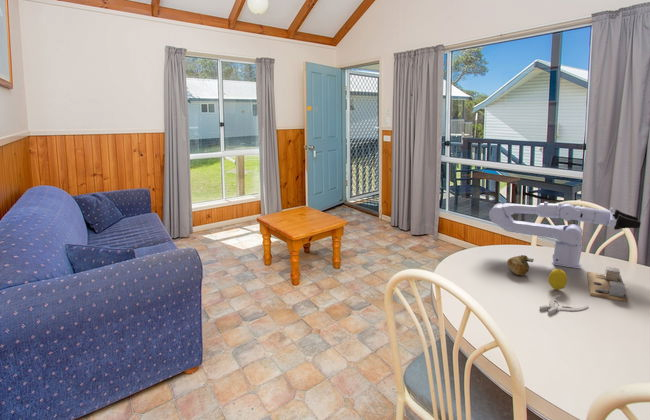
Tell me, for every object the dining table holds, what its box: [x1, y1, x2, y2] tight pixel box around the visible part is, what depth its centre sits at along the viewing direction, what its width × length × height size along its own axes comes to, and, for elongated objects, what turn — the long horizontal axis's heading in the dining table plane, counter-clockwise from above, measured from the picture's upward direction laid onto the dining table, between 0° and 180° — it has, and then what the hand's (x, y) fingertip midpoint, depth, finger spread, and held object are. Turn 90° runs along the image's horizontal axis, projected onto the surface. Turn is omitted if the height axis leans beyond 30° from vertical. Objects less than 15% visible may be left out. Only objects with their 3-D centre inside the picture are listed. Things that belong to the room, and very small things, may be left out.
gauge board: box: [586, 271, 628, 303], centre depth 140 cm, size 10×20×2 cm, turn 150°
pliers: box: [538, 294, 589, 316], centre depth 127 cm, size 10×2×15 cm
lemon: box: [548, 268, 568, 291], centre depth 137 cm, size 6×6×8 cm
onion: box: [506, 254, 535, 276], centre depth 151 cm, size 8×8×8 cm
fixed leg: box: [598, 281, 626, 297], centre depth 132 cm, size 7×4×4 cm, turn 60°
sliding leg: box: [595, 266, 621, 281], centre depth 144 cm, size 7×4×4 cm, turn 60°
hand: (638, 222), depth 145 cm, fingers open, 7 cm apart
